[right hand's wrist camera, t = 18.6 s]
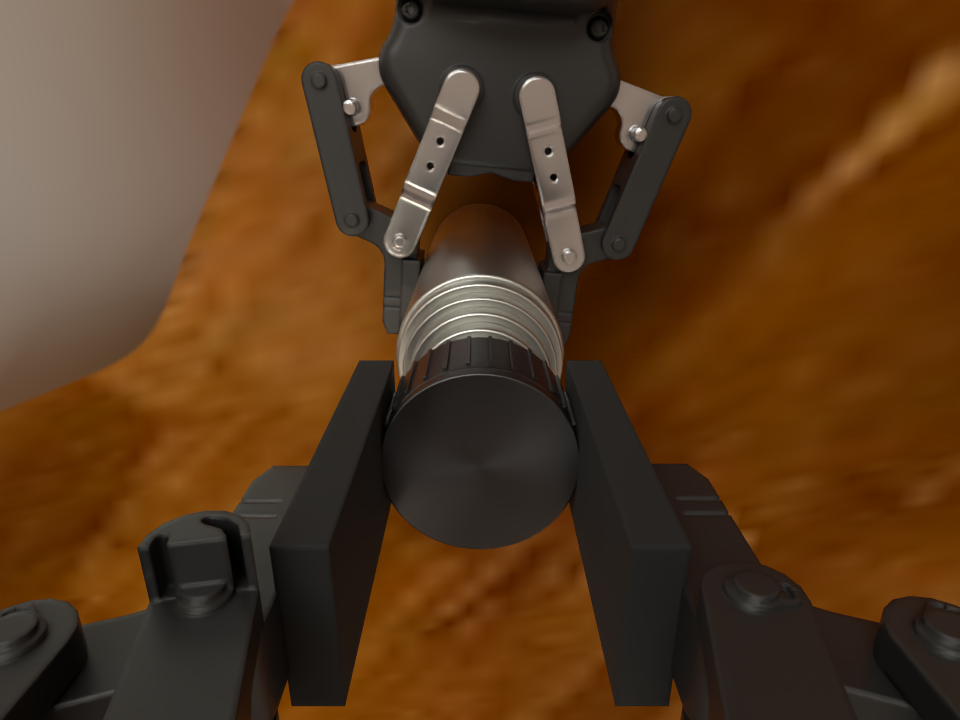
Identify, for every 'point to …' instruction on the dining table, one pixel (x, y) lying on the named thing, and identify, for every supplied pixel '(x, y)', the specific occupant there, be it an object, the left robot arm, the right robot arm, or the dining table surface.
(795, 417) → the dining table surface
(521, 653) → the dining table surface
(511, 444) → the cap
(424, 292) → the bottle
